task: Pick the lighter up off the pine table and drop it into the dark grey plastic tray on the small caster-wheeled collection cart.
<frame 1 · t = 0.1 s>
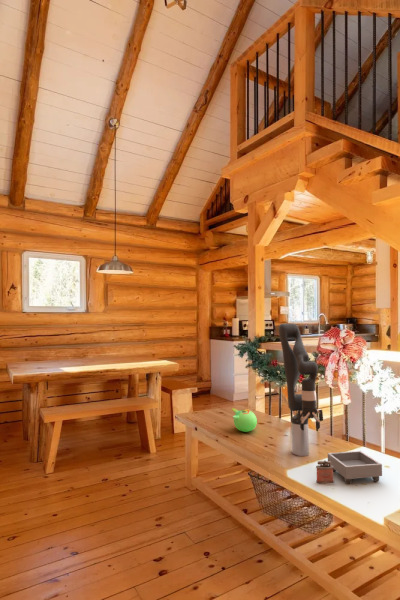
hand: (310, 429, 209), 17 cm above the table, tool pointing down, fingers open, 8 cm apart
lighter: (325, 482, 184), on the table
green apple: (244, 431, 265), on the table
collection cart: (354, 476, 190), on the table
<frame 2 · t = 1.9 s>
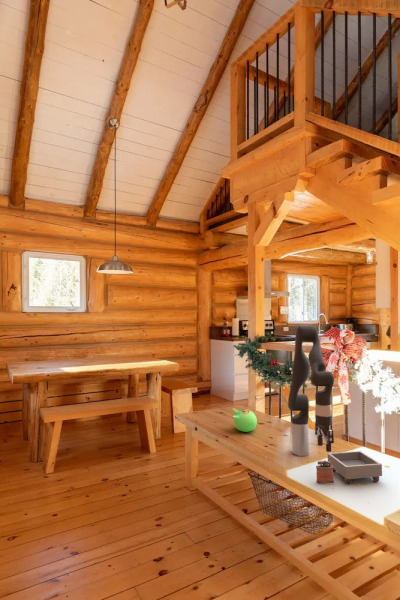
hand: (324, 448, 184), 16 cm above the table, tool pointing down, fingers open, 8 cm apart
nothing on the table moved.
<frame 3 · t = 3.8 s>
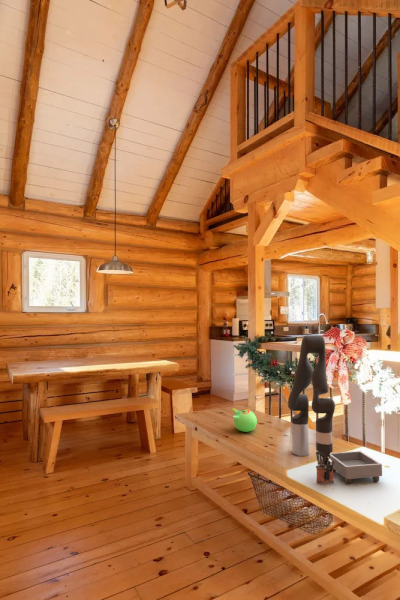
hand: (325, 477, 184), 2 cm above the table, tool pointing down, fingers closed on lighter, 3 cm apart
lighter: (325, 482, 184), on the table, touching gripper
everything else where it was.
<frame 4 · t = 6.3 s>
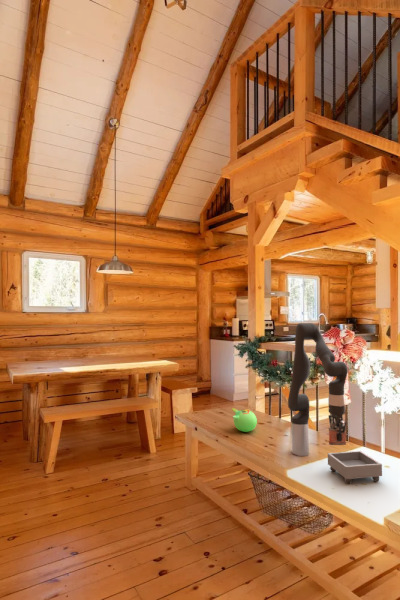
hand: (337, 439, 187), 19 cm above the table, tool pointing down, fingers closed on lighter, 3 cm apart
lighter: (337, 444, 187), point 16 cm above the table, touching gripper
everything else where it was.
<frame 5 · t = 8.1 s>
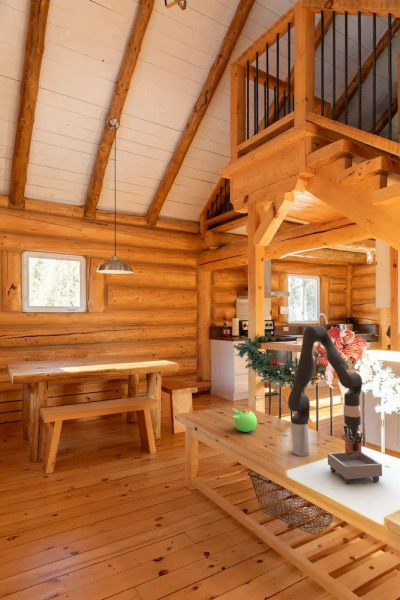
hand: (353, 449, 191), 13 cm above the table, tool pointing down, fingers closed on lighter, 3 cm apart
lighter: (353, 454, 190), point 10 cm above the table, touching gripper
everything else where it was.
when the fingers open (9 cm above the table, at t = 9.2 s): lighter drops 2 cm, resting on collection cart.
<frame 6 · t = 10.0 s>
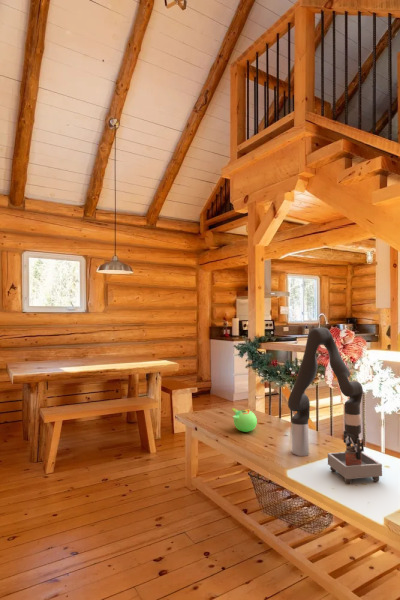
hand: (353, 456, 190), 10 cm above the table, tool pointing down, fingers open, 8 cm apart
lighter: (353, 467, 190), point 4 cm above the table, touching collection cart
everything else where it was.
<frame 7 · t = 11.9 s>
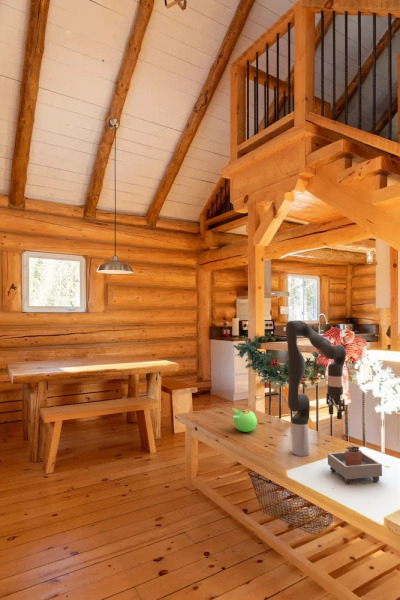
hand: (335, 416, 198), 27 cm above the table, tool pointing down, fingers open, 8 cm apart
nothing on the table moved.
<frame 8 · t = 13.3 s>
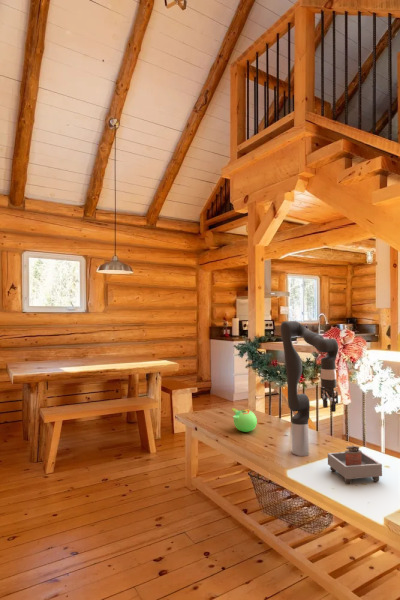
hand: (329, 409, 200), 30 cm above the table, tool pointing down, fingers open, 8 cm apart
nothing on the table moved.
at the end: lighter inside the target area on the collection cart (0.1 cm from its centre), point 4.3 cm above the collection cart's base; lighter touching collection cart; the gripper is holding nothing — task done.
